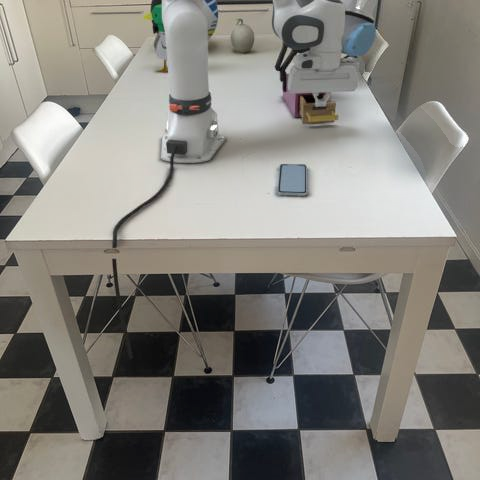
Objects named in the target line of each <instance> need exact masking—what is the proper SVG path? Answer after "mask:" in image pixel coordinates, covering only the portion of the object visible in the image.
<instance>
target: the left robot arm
mask: <svg viewBox="0 0 480 480" xmlns="http://www.w3.org/2000/svg"><path fill="white" fill-rule="evenodd" d="M271 1H272V6H273V7H272V15H271V16H272V17H271V27H272V31H273V33H274V34H275V35H276V37H277V38H279V39H280V40H281V42H282V44H283V43H284V44H285V45H286V46H287V47H288V48H289V49H291V50H292V49H294V50H301V49H306V48H310V50H309V51H307V52H304V53H300V54H299V53H297V55H296V56H294V57H293V60H292V62H293V65H292V66H290V68H289V69H290V70H289V73H288V74H289V78H288V90H289V91H290V92H291V93H312V94H313V96H314V98H315V106H316V107H325V106H326V101H327V100H328V99H329V97H330V98H331V95H332V93H342V92H343V93H345V92H347V93H348V92H355V90H357V88H358V73H359V70H360V61H359V60H358V59H357V58H355V57H348V58H343V57H342V53H341V52H342V44H341V40H342V36H343V34H344V25H345V9H346V8H345V4H344V2H342V1H341V0H314V1H313V2H311V3H310V4H308V5H306V6H305V7H302V8H301V7H300V5H299V4H298V3H297V1H296V0H271ZM162 21H163V25H164V30H165V38H166V50H167V60H166V65H167V68H168V69H167V74H168V75H167V76H168V84H169V95H168V104H169V110H168V111H167V112H166V117H167V124H166V128H165V134H163V135H162V136H161V137H162V138H161V153H160V158H161V160H163V161H165V162H169V164H170V165H169V173H168V175H167V177H166V179H165V181H164V183H163V184H162V186H161V188H159V190H158V191H157V192H156V193H155V194H154V195H152V196H151V197H150V198H149V199H147V200H146V201H144V202H143V203H140V204H139V205H138V206H137V207H135V208H134V209H133V210H131V211H130V212H129V213H127V214H126V215H124V216H123V217H122V218H121V219H120V220H119V221H117V223H116V224H115V226H114V228H113V230H112V244H111V248H112V249H115V248H117V246H118V245H117V244H118V231H119V229H120V227H121V226H122V225H123V224H124V222H126V221H127V220H129V218H131V217H132V216H134V215H135V214H137V213H138V212H139V211H140V210H142V209H144V208H145V207H146V206H148V205H149V204H150V203H152V202H153V201H155V200H156V199H157V198H159V197H160V195H161V194H163V192H164V191H165V190H166V188H167V187H168V184H169V182H170V181H171V178H172V177H173V172H174V165H175V164H174V163H178V164H179V163H180V164H181V163H182V164H195V163H204V162H208V161H210V160H211V159H212V158H213V157H214V155H215V154H216V153H217V151H218V150H219V149H220V148H221V146H222V145H223V144H224V142H225V139H226V138H225V136H224V135H222V134H220V133H219V119H218V113H217V112H216V111H215V110H214V109H213V108H212V93H211V92H210V84H209V65H208V63H209V60H208V59H209V40H208V23H207V19H206V17H205V15H204V13H203V0H162ZM320 92H324V93H325V94H326V95H325V96H324V98H323V99H318V98H317V96H319V93H320ZM111 263H112V274H113V275H112V276H113V283H114V284H113V285H114V291H115V297H116V298H115V299H116V303H117V308H118V313H119V318H120V322H121V327H122V331H123V334H124V339H125V344H126V348H127V354H128V358H129V359H130V360H132V359H133V358H134V357H133V351H132V347H131V341H130V337H129V332H128V328H127V323H126V320H125V319H126V318H125V314H124V310H123V305H122V299H121V292H120V287H119V286H120V285H119V284H120V283H119V277H118V266H117V265H118V264H117V258H111Z"/></svg>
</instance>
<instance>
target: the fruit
mask: <svg viewBox="0 0 480 480" xmlns="http://www.w3.org/2000/svg"><path fill="white" fill-rule="evenodd" d="M236 21H237V23H236V24H235V26H234V27H233V28H232V30H231V33H230V41H231V45H232V47H233V49H234V50H236V51H237V52H239V53H246V52H248V51H251V49H252V48H253V47H254V44H255V33H254V30H253V28H252V27H251V26H249V24H245V23H244V20H243V19H242V18H238V19H236ZM240 22H241V23H240ZM239 23H240V24H239Z"/></svg>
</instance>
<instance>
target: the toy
mask: <svg viewBox="0 0 480 480" xmlns="http://www.w3.org/2000/svg"><path fill="white" fill-rule="evenodd" d="M141 17H142V18H143V20H149V21H151V20H154V22H155V23H158V26H157V27H156V26H153V25H152V33H153V34H155V35H156V36H155V39H154V41H153V47H154V50H155V51H154V52H155V54H156V58H158V59H161V60H163V68H161V69H158V70H156V72H159V73H165V72H166V73H167V72H168V64H167V50H166V38H165V30H164V25H163V21H162V4H160V5H156V6H155V7H154V8H153V10H152V12H149V13H147V14H144V15H142V16H141ZM157 30H159V32H158V34H157V33H156V32H157Z"/></svg>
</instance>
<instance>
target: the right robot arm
mask: <svg viewBox="0 0 480 480" xmlns="http://www.w3.org/2000/svg"><path fill="white" fill-rule="evenodd" d="M296 1H297V3H298V4H299V5H300V7H301V8H302V7H305V6H306V5H308V4H310V3H311V2H313V1H314V0H296ZM377 2H378V0H351V1H350V4H349V6H348V7H347V8H345V25H344V34H343V36H342V40H341V44H342V52H341V54H342V55H345V56H343V57H342V58H348V59H349V58H355V59H358V57H363V55H365V54H367V53H368V52H369V51H370V49H371V48H372V46H373V45H374V43H375V40H376V36H377V34H376V32H377V29H376V26H375V25H374V23H375V17H374V16H373V13H374V11H375V7H376V5H377ZM281 46H282V47H281V49H280V51H279V54H278V57H277V59H276V62H275V64H274V70H275V71H276V72H279V81H280V82H282V84H281V85H282V87H281V89H282V92H283V91H284V92H286V75H287V74H288V72H287V71H286V70H287V68H288V67H289V66H290V64H291V63H292V62H293V57H294V56H296V55H298V54H301V53H304V52H307V51H309V50H310V48H306V49H301V50H294V49H291V50H290V52H289V53H288V55H287V57H286V58H285V56H286V54H287V51H288V48H289V47H287V46H286V45H285V44H284V43H283V42H282V45H281ZM284 59H285V60H284Z"/></svg>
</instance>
